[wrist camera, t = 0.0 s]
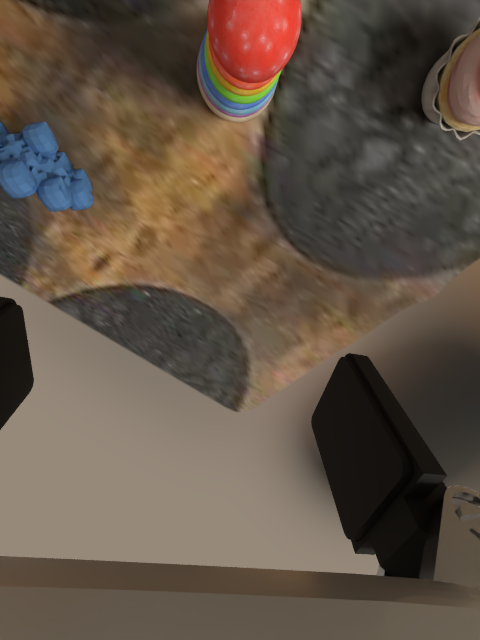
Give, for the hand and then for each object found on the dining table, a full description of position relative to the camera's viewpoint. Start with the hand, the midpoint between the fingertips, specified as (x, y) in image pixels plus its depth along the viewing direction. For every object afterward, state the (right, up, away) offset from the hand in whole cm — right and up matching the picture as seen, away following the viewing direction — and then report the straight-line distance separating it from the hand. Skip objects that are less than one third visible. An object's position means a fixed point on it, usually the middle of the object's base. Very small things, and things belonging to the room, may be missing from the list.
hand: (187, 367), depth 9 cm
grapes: (-18, +20, +24) cm, 36 cm away
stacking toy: (+1, +26, +21) cm, 34 cm away
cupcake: (+24, +26, +22) cm, 42 cm away
